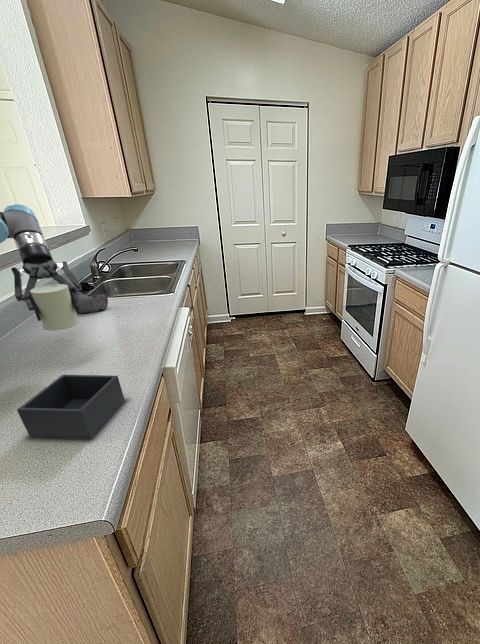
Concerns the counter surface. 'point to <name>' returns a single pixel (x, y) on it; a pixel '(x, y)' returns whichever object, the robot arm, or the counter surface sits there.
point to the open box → (72, 407)
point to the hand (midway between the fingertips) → (58, 314)
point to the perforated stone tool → (92, 303)
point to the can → (55, 306)
